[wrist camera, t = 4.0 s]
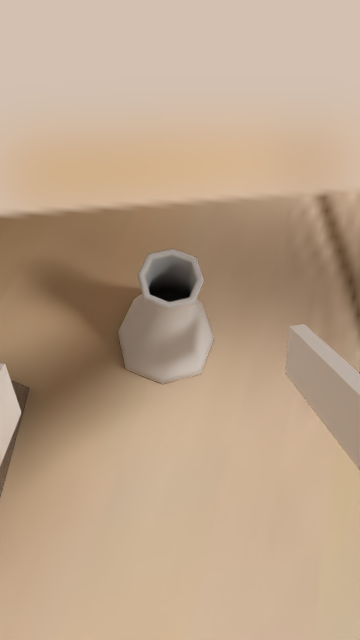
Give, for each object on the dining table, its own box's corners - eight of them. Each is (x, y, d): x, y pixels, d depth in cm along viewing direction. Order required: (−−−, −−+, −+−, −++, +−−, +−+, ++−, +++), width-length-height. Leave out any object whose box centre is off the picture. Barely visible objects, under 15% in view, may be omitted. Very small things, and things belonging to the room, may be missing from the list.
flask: (123, 289, 27) (105, 208, 18) (214, 296, 27) (244, 220, 18) (112, 381, 25) (83, 343, 15) (212, 388, 25) (245, 355, 15)
